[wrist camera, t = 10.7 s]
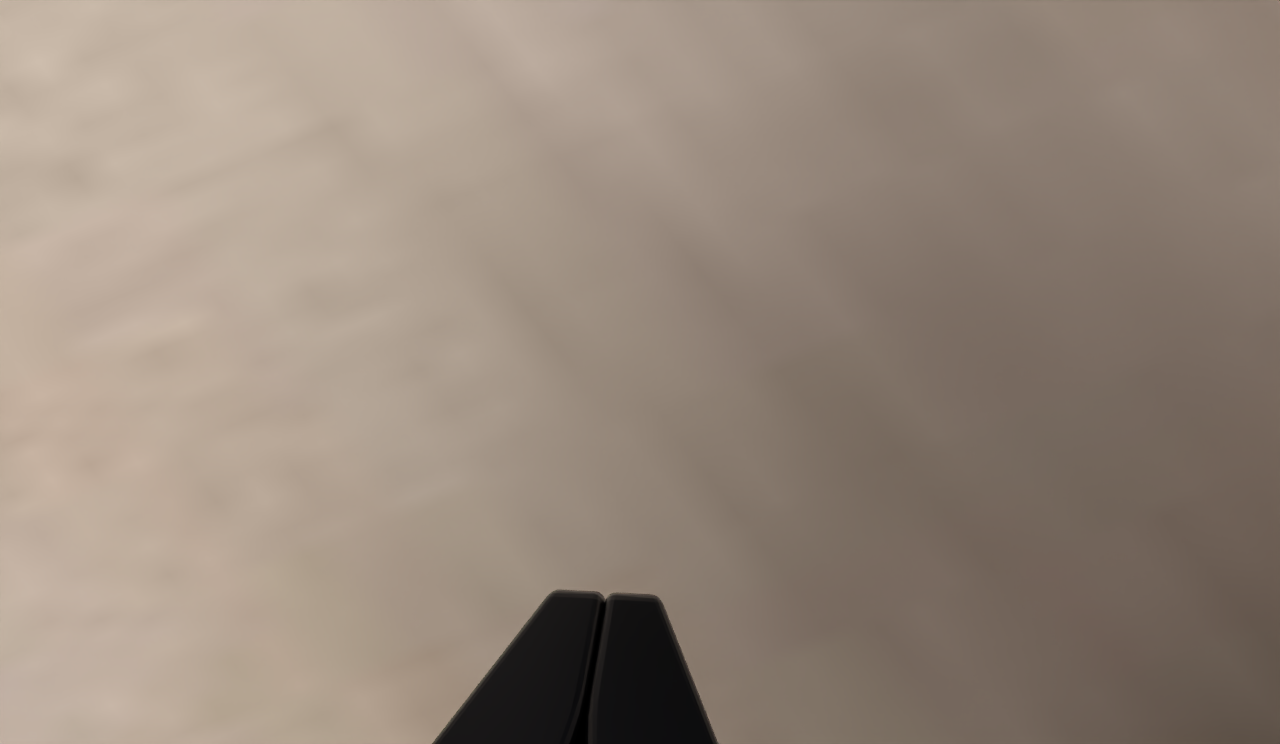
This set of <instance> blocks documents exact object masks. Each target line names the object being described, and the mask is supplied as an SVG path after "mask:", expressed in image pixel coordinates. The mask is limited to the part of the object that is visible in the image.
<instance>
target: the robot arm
mask: <svg viewBox="0 0 1280 744" xmlns="http://www.w3.org/2000/svg"><path fill="white" fill-rule="evenodd" d="M432 744H718V742H717V739H716V737H715V734H714V732H713V729H712V727H711V724H710V722H709V719H708V717H707V714H706V711H705V709H704V706H703V704H702V701H701V699H700V696H699V694H698V691H697V689H696V686H695V684H694V681H693V679H692V676H691V673H690V671H689V668H688V666H687V663H686V661H685V658H684V656H683V653H682V651H681V648H680V646H679V643H678V641H677V638H676V635H675V633H674V630H673V628H672V625H671V623H670V620H669V618H668V615H667V613H666V610H665V608H664V605H663V603H662V601H661V600H660V599H659V598H658V597H657V596H655V595H650V594H632V593H612V594H610V595H609V596H608V597H607V599H606V601H605V598H604V596H603V595H602V594H600V593H599V592H595V591H576V590H556V591H553V592H551V593H550V594H549V595H548V596H547V597H546V598H545V600H544V601H543V602H542V603H541V605H540V606H539V607H538V609H537V610H536V611H535V612H534V614H533V615H532V616H531V618H530V619H529V620H528V621H527V623H526V624H525V625H524V627H523V628H522V629H521V630H520V632H519V633H518V634H517V636H516V637H515V638H514V639H513V641H512V642H511V643H510V645H509V646H508V647H507V648H506V650H505V651H504V652H503V653H502V655H501V656H500V657H499V659H498V660H497V661H496V662H495V664H494V665H493V666H492V668H491V669H490V670H489V671H488V673H487V674H486V675H485V677H484V678H483V679H482V680H481V682H480V683H479V684H478V686H477V687H476V688H475V689H474V691H473V692H472V693H471V695H470V696H469V697H468V698H467V700H466V701H465V702H464V704H463V705H462V706H461V707H460V709H459V710H458V711H457V713H456V714H455V715H454V716H453V718H452V719H451V720H450V722H449V723H448V724H447V725H446V727H445V728H444V729H443V730H442V732H441V733H440V734H439V736H438V737H437V738H436V739H435V741H434V742H433V743H432Z"/></svg>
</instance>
